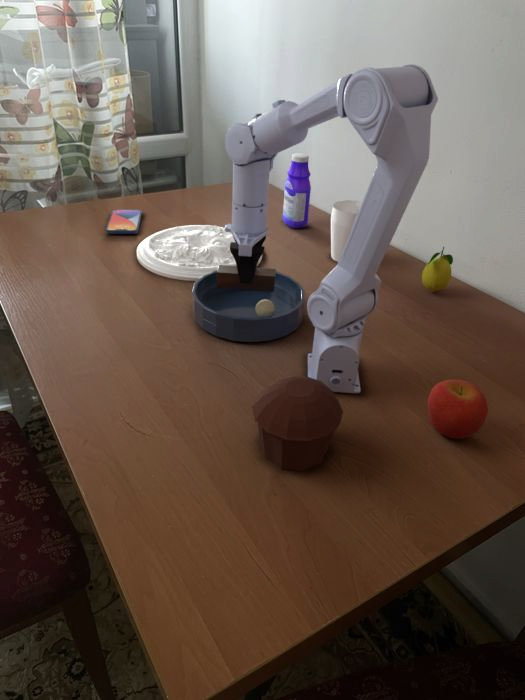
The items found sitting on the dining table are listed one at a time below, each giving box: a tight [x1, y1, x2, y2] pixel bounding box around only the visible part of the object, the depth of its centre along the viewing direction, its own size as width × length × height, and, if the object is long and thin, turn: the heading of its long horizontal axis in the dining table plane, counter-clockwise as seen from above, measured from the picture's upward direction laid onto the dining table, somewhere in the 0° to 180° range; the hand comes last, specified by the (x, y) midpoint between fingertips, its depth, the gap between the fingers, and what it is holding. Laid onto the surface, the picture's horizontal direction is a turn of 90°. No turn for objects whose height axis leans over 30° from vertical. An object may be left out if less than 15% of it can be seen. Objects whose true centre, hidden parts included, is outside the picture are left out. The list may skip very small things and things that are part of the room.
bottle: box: [282, 152, 312, 229], centre depth 136 cm, size 7×6×17 cm
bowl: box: [191, 266, 306, 343], centre depth 100 cm, size 20×20×5 cm
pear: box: [421, 246, 454, 293], centre depth 110 cm, size 7×6×10 cm
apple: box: [427, 379, 489, 440], centre depth 75 cm, size 8×8×8 cm
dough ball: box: [255, 299, 275, 318], centre depth 99 cm, size 4×4×4 cm
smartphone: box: [105, 209, 143, 235], centre depth 135 cm, size 7×15×1 cm, turn 6°
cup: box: [330, 199, 363, 263], centre depth 122 cm, size 9×9×12 cm
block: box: [217, 265, 277, 292], centre depth 96 cm, size 3×10×3 cm, turn 87°
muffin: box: [251, 375, 344, 472], centre depth 70 cm, size 12×11×10 cm
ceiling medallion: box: [136, 224, 263, 282], centre depth 122 cm, size 28×28×3 cm
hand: (247, 277), depth 96 cm, fingers closed on block, 3 cm apart
